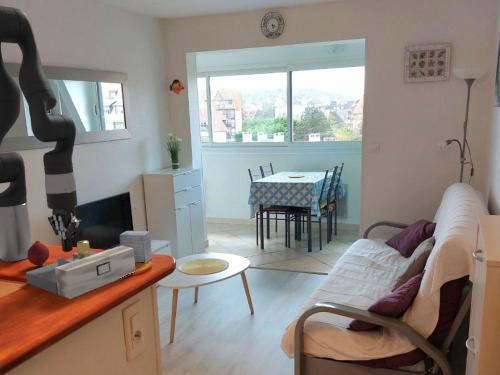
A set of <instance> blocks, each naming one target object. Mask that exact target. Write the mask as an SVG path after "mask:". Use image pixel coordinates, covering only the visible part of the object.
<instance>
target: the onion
mask: <svg viewBox="0 0 500 375" xmlns="http://www.w3.org/2000/svg"><path fill="white" fill-rule="evenodd" d="M27 257H28V258H27V260H28V261H29V262H30V264H32V265H34V266H36V267H37V266H38V267H43V265H44V264H45V263H46V262H47V261H48V259H49V257H50V249H49V248H48V247H47V245H45V244H44V243H42V242H41V241H40V239H36V240H35V241H34V243H32V246H31V247H30V248H29V250H28V253H27Z"/></svg>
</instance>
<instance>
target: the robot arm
mask: <svg viewBox="0 0 500 375" xmlns="http://www.w3.org/2000/svg"><path fill="white" fill-rule="evenodd" d="M2 43H4V44H5V43H6V44H16V45H18V47H19V49H20V51H21V56H22V59H21V64H20V68H19V72H18V84H19V86H18V84H17V82H16V80H15V79H14V77H13V76H12V75H11V72H10V71H9V69H8V68H7V66H6V64H5V61H4V59H3V58H4V57H3V55H2V54H3V53H2ZM42 64H43V63H42V61H41V55H40V52H39V48H38V45H37V40H36V38H35V34H34V31H33V27H32V24H31V22H30V19H29V17H28V15H27V14H26V12H25V11H23V10H22V9H20V8H17V7H11V6H4V5H0V146H1V145H2V143H3V141H4V138H5V137H6V136H7V134H8V132H9V131H10V130H11V129H12V127H13V126H14V125H15V123H16V122H17V120H18V118H20V114H21V92H22V95H23V97H24V100H25V101H26V103H27V106H28V111H29V118H30V128H31V132H32V134H33V136H34V137H35V138H36V139H37V140H38V141H39V142H41V143H54V142H55V146H54V148H53V149H52V150H49V151H47V152H45V153H44V154H43V156H42V158H43V159H42V160H43V168H44V169H43V170H44V171H43V172H44V188H45V189H44V190H45V197H46V204H47V208H48V209H50V210H52V211H51V212H52V215H51V216H48V217H47V220H48V222H49V224H50V226H51V228H52V231H53V232H54V234H55V236H58V237H59V239H60V240H61V250H62V252H65V253H68V252H69V253H70V252H72V251H73V246H74V245H73V237H77V235H78V233H79V230H80V228H81V226H82V219H77V218H76V210H75V207H76V206H77V205H78V204H79V203H78V194H77V193H78V192H77V185H76V179H75V178H76V177H75V174H74V166H73V165H74V164H73V151H74V147H75V146H74V145H75V141H76V136H77V128H76V124H75V122H74V120H73V118H71V117H70V116H69V115H67V114H48V111H51V110H53V109H54V108H55V107H56V106H57V97H56V96H55V93H54V91H53V89H52V87H51V84H50V82H49V80H48V77H47V76H46V72H45V70H44V68H43V67H44V66H43V65H42ZM20 89H21V91H20ZM26 180H27V179H26V166H25V161H24V159H23V157H22V155H21V154H20V153H19V152H16V151H11V152H9V151H8V152H7V151H6V152H0V184H1V185H2V184H7V183H9V185H8V187H7V188H5V190H3V191H1V192H0V261H2V262H16V261H22V260H26V259H28V257H27V253H28V250H29V248H30V247H31V246H32V245H33V238H32V230H31V223H30V215H29V206H28V200H27V196H28V195H27V194H28V192H27V182H26Z"/></svg>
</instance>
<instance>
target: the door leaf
mask: <svg viewBox="0 0 500 375" xmlns="http://www.w3.org/2000/svg"><path fill="white" fill-rule="evenodd" d="M98 253H99V252H97V251H91V250H90V256H92V255H95V254H98ZM77 258H78V252H73V253H72V257H69V258H62V257H57V258H56V259H57V262H54V263H52V264H48V265H45V266H40V267H38V268H35V269H32V270H29V271H26V272H25V276H26V282H27V284H28V285H31V286H34V287H37V288H39V289H41V290H44V291H48V292H50V293H52V294H55V295H58V289H57V281H56V272H55V267H58V266H61V265H64V264H67V263H70V262H73V260H74V259H77Z"/></svg>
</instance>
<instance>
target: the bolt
mask: <svg viewBox="0 0 500 375" xmlns="http://www.w3.org/2000/svg"><path fill="white" fill-rule="evenodd" d="M76 249H77V253H78V258H77V259H74V260H73V261H76V260H80V259H83V258H86V257H89V256H90V252H91V250H90V241H89V240H86V239H85V240H80V241H77V242H76ZM96 270H97V274H102V273H104V272H107V271H109V265H108V263H103V264H100V265H97V266H96Z"/></svg>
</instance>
